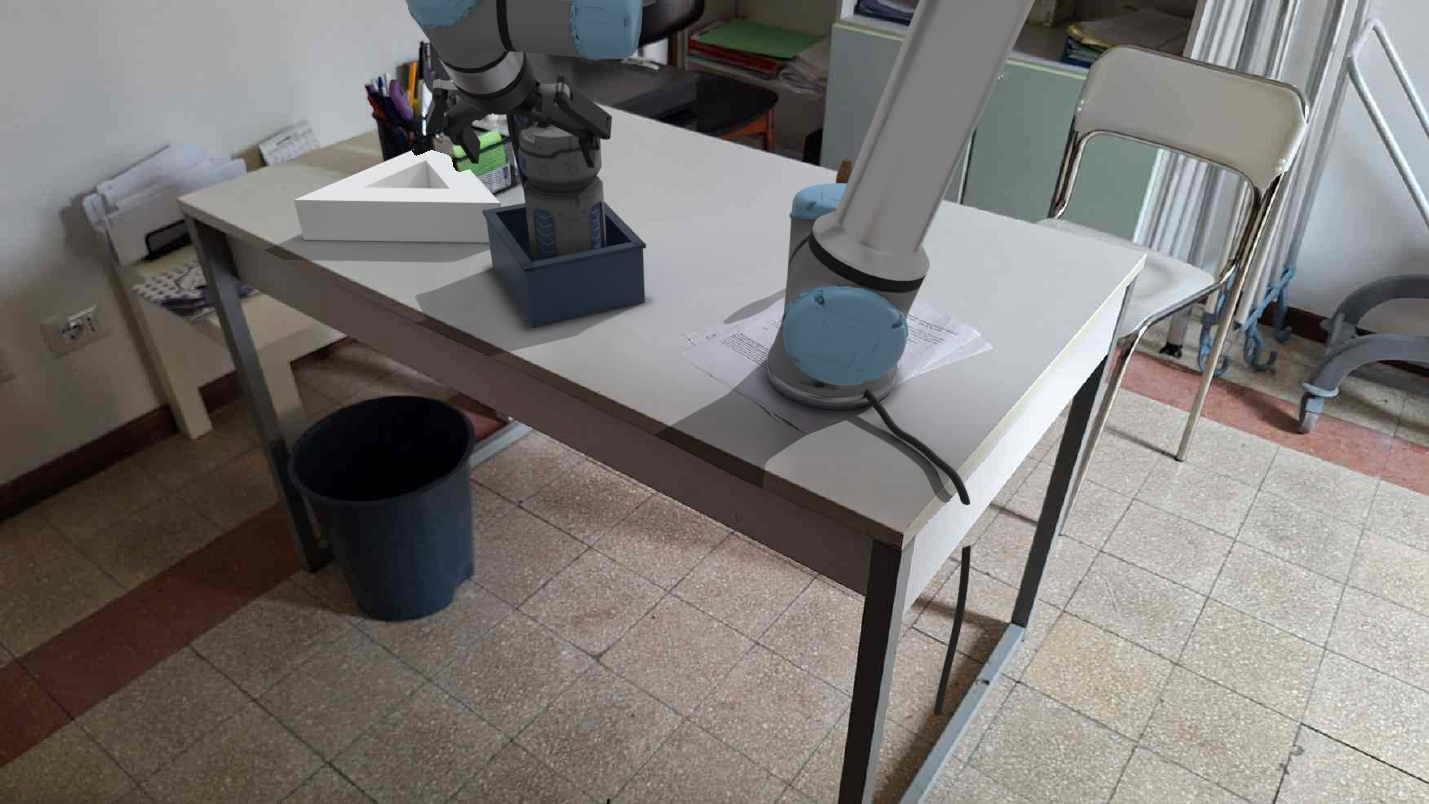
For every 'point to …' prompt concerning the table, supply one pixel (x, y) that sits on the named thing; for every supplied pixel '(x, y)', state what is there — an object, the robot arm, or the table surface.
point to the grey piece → (557, 190)
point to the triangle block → (400, 203)
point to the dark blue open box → (566, 269)
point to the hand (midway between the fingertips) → (534, 155)
